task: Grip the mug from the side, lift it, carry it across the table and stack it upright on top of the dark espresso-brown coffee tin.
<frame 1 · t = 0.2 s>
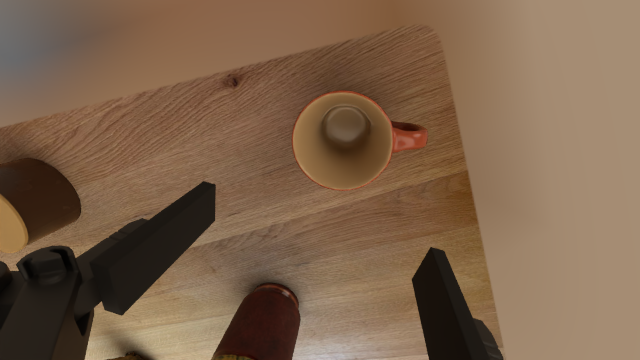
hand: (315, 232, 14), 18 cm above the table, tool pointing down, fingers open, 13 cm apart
vase: (275, 299, 44), on the table
mug: (359, 123, 29), on the table
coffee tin: (46, 192, 42), on the table
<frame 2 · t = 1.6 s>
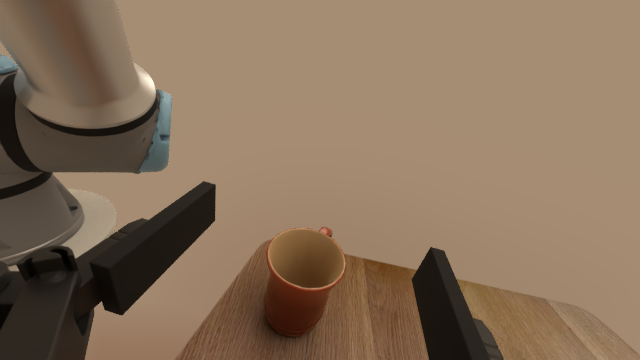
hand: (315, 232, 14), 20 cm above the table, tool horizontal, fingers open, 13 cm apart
mug: (297, 302, 32), on the table
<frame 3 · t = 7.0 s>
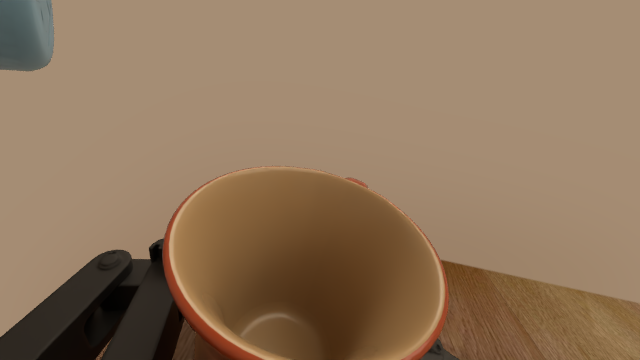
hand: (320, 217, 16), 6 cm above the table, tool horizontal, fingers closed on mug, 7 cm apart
mug: (287, 346, 14), on the table, touching gripper
when the fingers open (14 cm above the table, at t = 22.3 s): mug stays where it is, resting on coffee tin.
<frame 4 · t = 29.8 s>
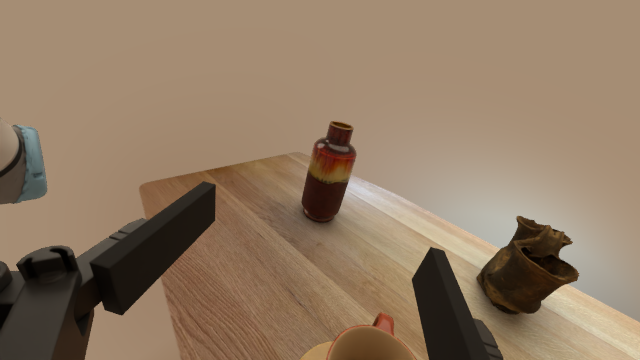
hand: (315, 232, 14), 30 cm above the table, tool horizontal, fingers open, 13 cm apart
vase: (318, 212, 68), on the table
pottery vessel: (498, 295, 55), on the table
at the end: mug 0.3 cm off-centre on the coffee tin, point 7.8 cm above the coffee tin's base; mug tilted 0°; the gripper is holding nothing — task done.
